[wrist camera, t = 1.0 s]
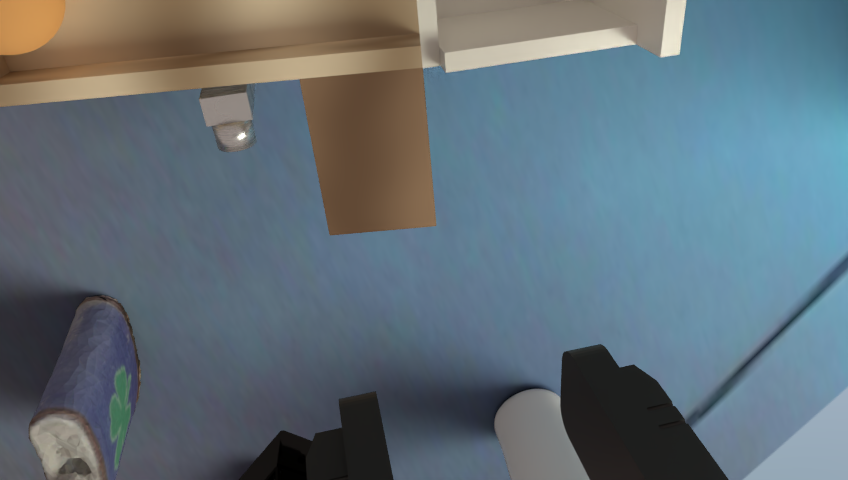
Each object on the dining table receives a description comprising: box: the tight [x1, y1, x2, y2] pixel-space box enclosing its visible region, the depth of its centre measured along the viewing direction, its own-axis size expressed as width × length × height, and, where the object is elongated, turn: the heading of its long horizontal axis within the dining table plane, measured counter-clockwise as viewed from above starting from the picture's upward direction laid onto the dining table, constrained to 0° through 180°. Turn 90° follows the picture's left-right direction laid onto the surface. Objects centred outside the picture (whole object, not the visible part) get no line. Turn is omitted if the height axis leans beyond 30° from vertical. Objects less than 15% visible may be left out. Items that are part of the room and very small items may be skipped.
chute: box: [0, 0, 436, 235], centre depth 22 cm, size 15×13×4 cm
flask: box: [29, 295, 141, 480], centre depth 32 cm, size 9×3×11 cm, turn 172°
